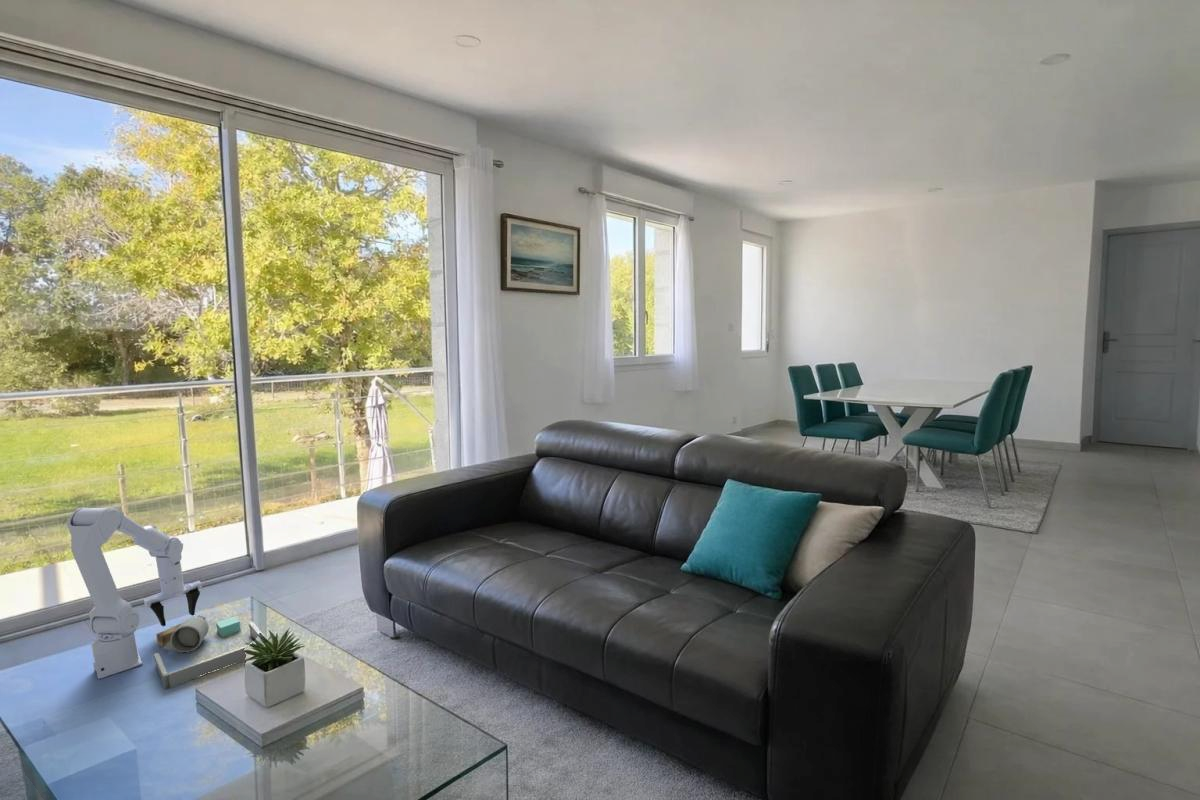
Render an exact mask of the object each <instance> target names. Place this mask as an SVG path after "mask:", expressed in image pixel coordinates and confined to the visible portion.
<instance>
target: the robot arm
mask: <svg viewBox="0 0 1200 800" xmlns="http://www.w3.org/2000/svg"><path fill="white" fill-rule="evenodd" d="M66 527H67V528H68V531H69V534H70V541H71V543H70V545H71V546H70V548H71V553H72V556H73V559H74V561H75V563H76V565H77V567H78V569H79V572H80V575H81V577H82V579H83V582H84V584H85V587H86V588H87V591H88V593H89V596H90V598H91V600H92V603H93V605H94V606H93V608H92V609H91V610H89V613H88V616H89V621H90V622H89V629H90V631H91V632H92V634H95V635H97V639H96V640H94V641H92V642H90V644H91V650H92V656H93V660H94V662H93V663H92V664H93V670H95V671H96V675H97V678H98V680H99V679H103V678H106V677H109V676H112V675H115V674H118V673H121V672H124V671H127V670H130V669H133V668H136V667H138V666H141V665H143V661H142V659H141V656H140V654H139V652H138V648H137V642H136V641H137V640H136V635H135V632H136V631H137V628H138V627H139V623H140V620H141V619H140V614H139V612H137V610H135V609H134V608H133V606H132V604H131V603H129V602H128V601H126V600H125V599H123V598H121V595H120V593H119V591H118V590H119V589H117V586H116V583H115V580H114V577H113V575H112V573H111V571H110V570H111V569H110V568H109V564H108V563H107V560H106V558H105V555H104V553H103V551H102V546H103V545H105V544H106V543H107V542H108V541H109V540H110V538H111V537H112V536H113V534H114V533H115V532H116V531H118V532H120V533H122V534H124V535H127V536H129V537H131V538H132V539H133V542H134V544H135V545H137V546H139V547H140V548H142V549H145V550H147V551H148V554H149V556H150V557H154V558H155V561H156V566H157V573H158V579H159V581H158V582H159V584H160V591H161V592H158V593H156V594H153V595H152V596H151V595H150V596H149V597H147V598H144V599H143V604H144V607H146V608H150V609H151V610H152V612H153V613H154V614H155V616H156V617H157V620H158V621H159V623H160V626H162V627H165V626H166V624H167V623H166V617H165V612H164V611H165V610H164V608H165V606H164V605H162V602H164V601H167V600H170V599H172V598H177V597H180V596H183V595H185V597H186V600H187V606H188V608H187V609H188V614H189V615H191V616H192V617H194V616H196V615H195V613H196V607H197V602H198V601H199V597H200V595H201V591H200V590H201V589H203V585H202V584H203V583H202V582H201V581H199V580H197V581H195V582H190V583H185V582H184V577H183V570H182V569H183V568H182V564H181V560H182V552H183V548H184V543H182V541H181V540H180V539H179V538H177V537H176V536H175V537H173V536H172V537H170V536H169V535H168V533H166V532H162V531H160V530H158V529H157V526H155V525H145V526H143V525H140V524H139V523H138V522H136V521H134V520H133V519H132V518H130V517H128V516H127V515H125V512H124V511H122V510H119V509H118V508H116V507H114V506H111V507H102V508H101V507H79V508H77V509H75V510H73V512H72V513H71V515H70V517H69V519H68V521H67V523H66Z"/></svg>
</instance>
